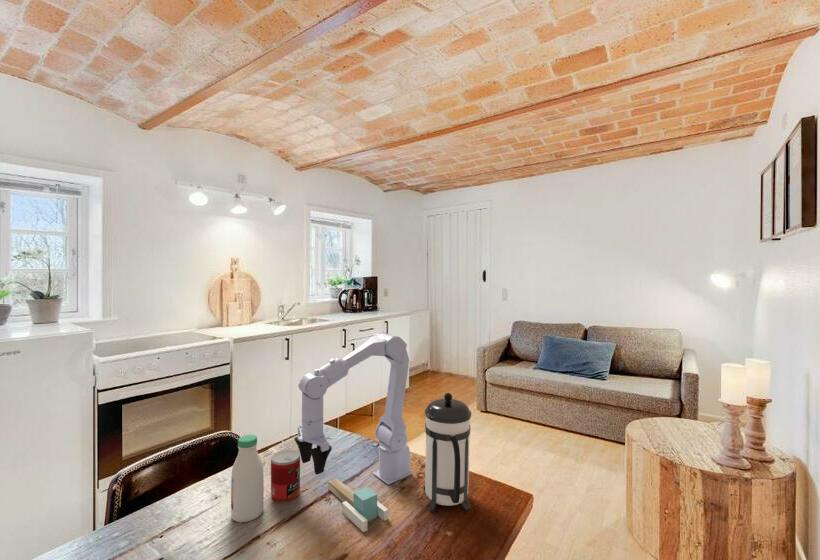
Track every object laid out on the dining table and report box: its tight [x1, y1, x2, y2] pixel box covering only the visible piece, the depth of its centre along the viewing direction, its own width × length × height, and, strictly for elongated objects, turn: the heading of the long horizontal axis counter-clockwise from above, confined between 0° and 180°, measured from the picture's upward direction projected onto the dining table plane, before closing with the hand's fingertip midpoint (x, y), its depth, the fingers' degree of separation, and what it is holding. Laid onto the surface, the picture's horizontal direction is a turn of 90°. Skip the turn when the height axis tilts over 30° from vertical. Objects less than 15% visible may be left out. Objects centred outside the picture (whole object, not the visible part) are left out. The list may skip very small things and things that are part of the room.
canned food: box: [270, 449, 301, 503], centre depth 108 cm, size 8×8×11 cm
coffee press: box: [423, 392, 472, 513], centre depth 105 cm, size 17×16×30 cm
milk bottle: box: [230, 434, 265, 523], centre depth 99 cm, size 8×8×20 cm
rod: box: [327, 477, 355, 507], centre depth 107 cm, size 3×14×3 cm, turn 42°
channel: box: [341, 500, 389, 533], centre depth 99 cm, size 8×10×2 cm
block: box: [353, 486, 378, 523], centre depth 99 cm, size 4×4×6 cm
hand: (312, 467), depth 105 cm, fingers open, 7 cm apart
